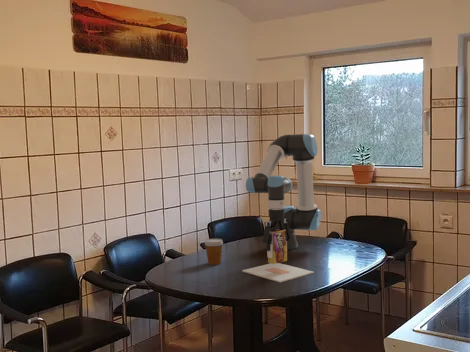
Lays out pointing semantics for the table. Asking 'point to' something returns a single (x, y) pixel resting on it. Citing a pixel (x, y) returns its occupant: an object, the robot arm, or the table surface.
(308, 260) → the table surface
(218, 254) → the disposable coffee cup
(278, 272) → the mat
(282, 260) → the candy box
